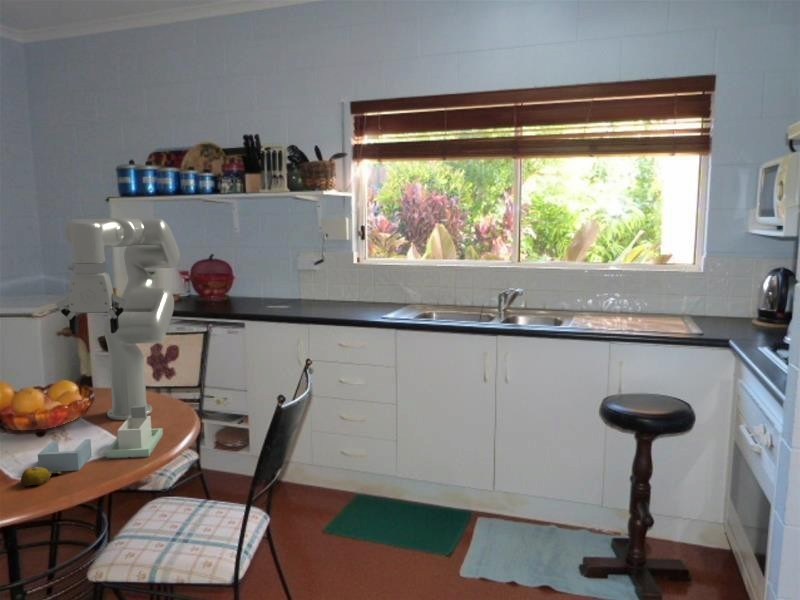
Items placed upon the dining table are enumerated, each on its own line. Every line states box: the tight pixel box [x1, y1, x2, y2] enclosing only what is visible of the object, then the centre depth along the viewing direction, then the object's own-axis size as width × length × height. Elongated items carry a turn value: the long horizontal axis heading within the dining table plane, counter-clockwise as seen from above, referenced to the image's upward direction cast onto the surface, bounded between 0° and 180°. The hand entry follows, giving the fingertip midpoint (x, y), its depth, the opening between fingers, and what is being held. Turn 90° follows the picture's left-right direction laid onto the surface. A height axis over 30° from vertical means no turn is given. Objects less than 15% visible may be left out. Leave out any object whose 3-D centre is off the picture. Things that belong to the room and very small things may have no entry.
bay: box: [37, 438, 93, 472], centre depth 150 cm, size 9×9×4 cm
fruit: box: [20, 466, 62, 488], centre depth 142 cm, size 8×8×4 cm
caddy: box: [117, 406, 152, 449], centre depth 161 cm, size 10×6×9 cm, turn 8°
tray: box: [105, 427, 164, 460], centre depth 162 cm, size 15×10×2 cm
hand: (95, 332), depth 162 cm, fingers open, 9 cm apart
